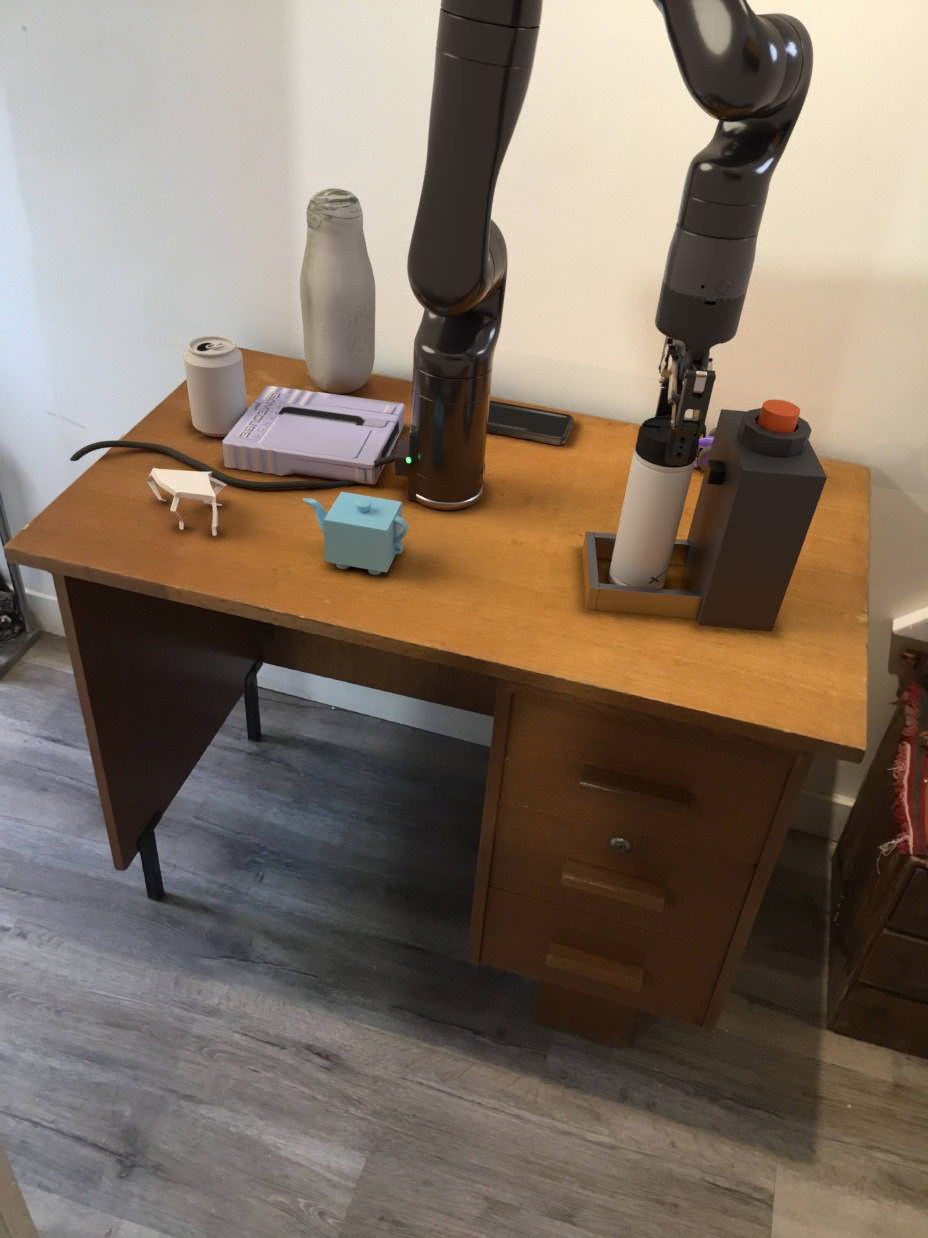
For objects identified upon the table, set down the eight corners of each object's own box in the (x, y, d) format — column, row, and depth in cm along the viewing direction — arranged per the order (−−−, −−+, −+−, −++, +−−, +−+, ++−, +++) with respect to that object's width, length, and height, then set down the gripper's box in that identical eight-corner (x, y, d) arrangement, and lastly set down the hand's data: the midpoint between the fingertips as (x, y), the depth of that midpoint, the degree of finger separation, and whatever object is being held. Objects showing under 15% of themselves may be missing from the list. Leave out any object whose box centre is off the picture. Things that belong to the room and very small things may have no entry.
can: (204, 411, 129) (194, 328, 121) (256, 418, 128) (248, 335, 121) (184, 436, 123) (172, 350, 115) (238, 442, 122) (229, 357, 115)
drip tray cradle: (586, 609, 99) (610, 483, 89) (581, 552, 107) (603, 430, 97) (696, 619, 99) (732, 493, 89) (683, 561, 107) (715, 440, 97)
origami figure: (250, 507, 110) (247, 471, 107) (215, 542, 104) (210, 506, 101) (163, 486, 113) (157, 450, 110) (123, 520, 106) (116, 483, 103)
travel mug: (665, 605, 100) (707, 442, 88) (605, 595, 101) (639, 432, 88) (666, 573, 105) (707, 414, 92) (609, 563, 106) (642, 404, 93)
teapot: (296, 563, 102) (292, 505, 97) (314, 534, 107) (311, 478, 102) (399, 581, 100) (401, 524, 96) (413, 551, 105) (415, 495, 100)
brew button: (761, 433, 88) (766, 413, 87) (754, 416, 91) (759, 397, 90) (798, 436, 88) (804, 417, 87) (789, 419, 91) (795, 400, 90)
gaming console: (266, 384, 129) (405, 401, 127) (268, 408, 131) (404, 426, 129) (219, 442, 115) (374, 463, 113) (222, 468, 117) (374, 489, 115)
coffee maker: (697, 625, 98) (748, 450, 85) (682, 556, 108) (725, 390, 95) (772, 631, 98) (834, 458, 85) (749, 562, 108) (802, 397, 95)
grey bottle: (336, 369, 142) (331, 175, 125) (387, 388, 138) (389, 191, 121) (292, 389, 136) (280, 188, 118) (344, 410, 132) (339, 204, 114)
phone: (475, 397, 135) (575, 415, 132) (475, 404, 136) (573, 422, 133) (461, 420, 129) (565, 439, 126) (460, 427, 130) (564, 446, 127)
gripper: (655, 252, 87) (626, 408, 97) (673, 304, 76) (639, 475, 86) (733, 258, 87) (696, 413, 97) (763, 311, 76) (718, 481, 86)
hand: (669, 442), depth 92 cm, fingers open, 8 cm apart
